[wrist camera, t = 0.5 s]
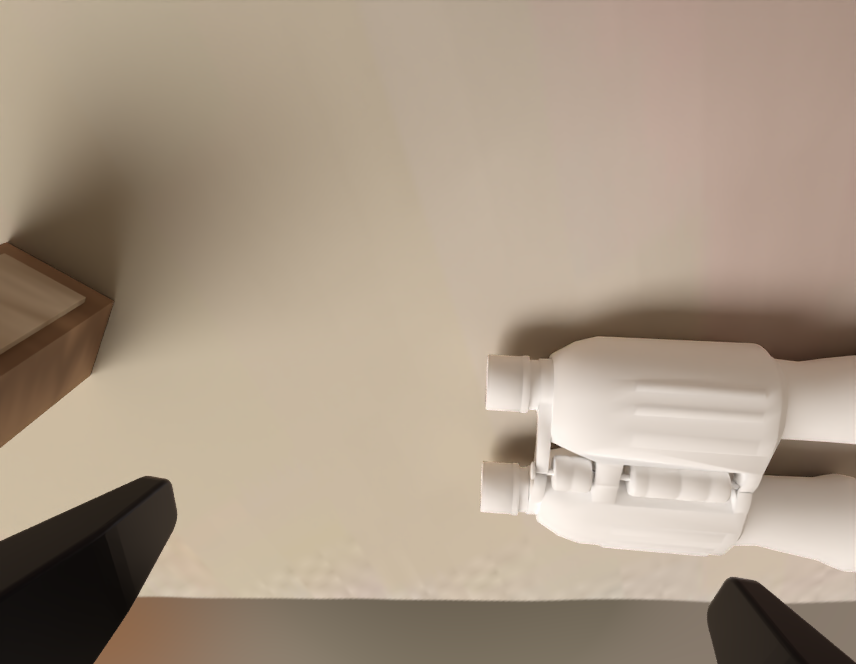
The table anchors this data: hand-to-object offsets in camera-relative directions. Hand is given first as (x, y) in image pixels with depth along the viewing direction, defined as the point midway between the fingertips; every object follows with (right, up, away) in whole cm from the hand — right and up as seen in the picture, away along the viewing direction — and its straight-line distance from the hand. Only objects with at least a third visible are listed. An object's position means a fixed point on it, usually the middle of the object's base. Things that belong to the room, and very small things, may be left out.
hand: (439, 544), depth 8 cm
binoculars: (+10, 0, +15) cm, 19 cm away
